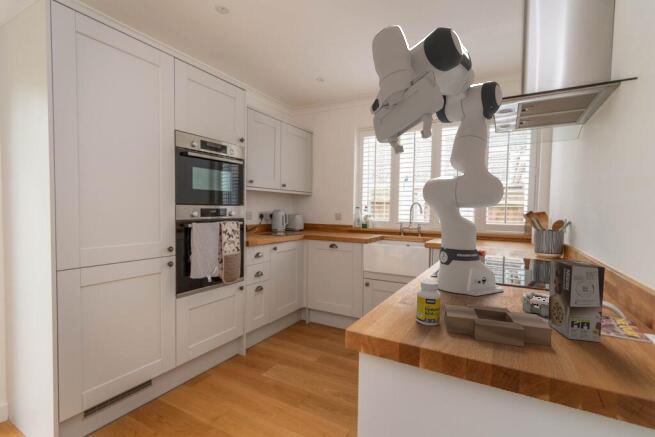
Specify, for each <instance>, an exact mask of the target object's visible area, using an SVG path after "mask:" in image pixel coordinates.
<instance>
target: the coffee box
mask: <svg viewBox="0 0 655 437" xmlns="http://www.w3.org/2000/svg"><path fill="white" fill-rule="evenodd" d="M605 270H606V267H605V266H600V265H596V264H592V263H589V262H586V261H581V260H574V259H573V260H571V259H560V260H559V259H550V276H549V295H548V296H549V297H548V298H549V316H547V317H548V319H547V320H548V322H547V325H548V326H549V327H550V328H553V329H554V330H556V331H557V332H559V333H560V334H561V335H563V336H564V337H566V338H567V339H569V340H576V341H577V340H578V341H586V342H587V341H588V342H597V343H600V342H601V332H602V321H603V302H604V290H605V289H604V287H605Z"/></svg>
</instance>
